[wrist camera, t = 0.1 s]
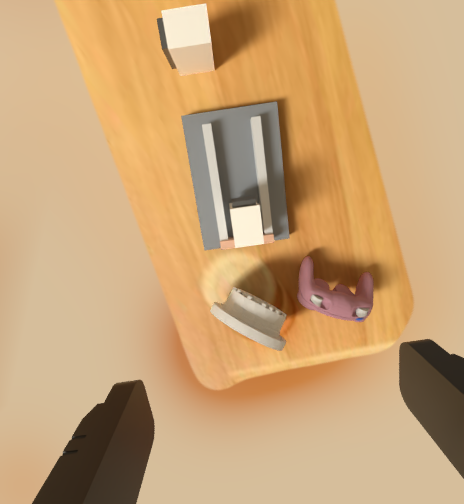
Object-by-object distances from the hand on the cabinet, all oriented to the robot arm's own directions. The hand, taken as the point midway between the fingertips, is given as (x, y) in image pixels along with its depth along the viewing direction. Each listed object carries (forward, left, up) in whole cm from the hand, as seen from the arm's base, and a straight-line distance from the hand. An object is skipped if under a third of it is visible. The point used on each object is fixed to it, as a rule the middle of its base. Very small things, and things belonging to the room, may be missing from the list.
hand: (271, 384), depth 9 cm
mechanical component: (+11, -1, -29) cm, 31 cm away
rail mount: (-6, +1, -29) cm, 30 cm away
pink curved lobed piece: (+8, +12, -29) cm, 33 cm away
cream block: (-20, -2, -29) cm, 35 cm away
